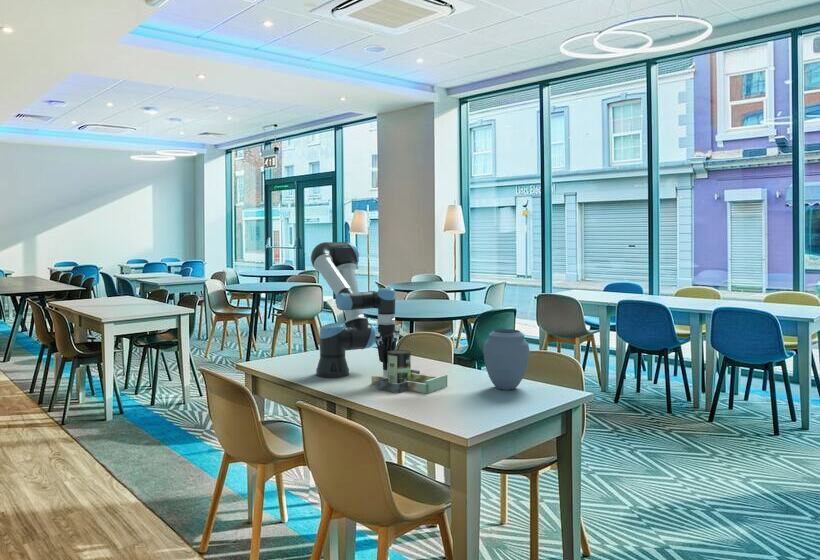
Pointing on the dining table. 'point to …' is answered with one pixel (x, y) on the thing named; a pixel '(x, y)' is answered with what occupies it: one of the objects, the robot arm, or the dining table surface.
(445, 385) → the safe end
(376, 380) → the channel
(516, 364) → the vase
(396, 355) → the coffee can
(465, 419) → the dining table surface
